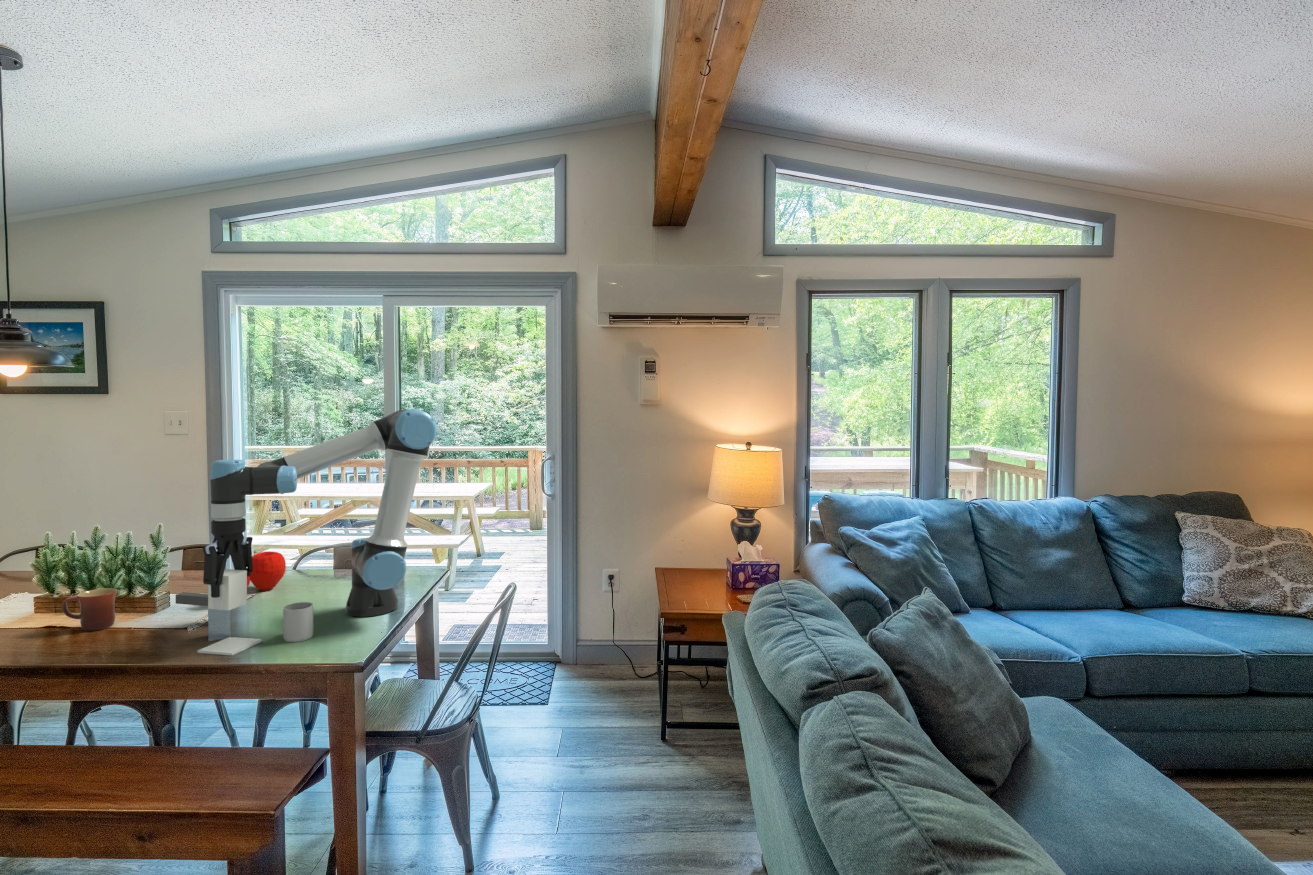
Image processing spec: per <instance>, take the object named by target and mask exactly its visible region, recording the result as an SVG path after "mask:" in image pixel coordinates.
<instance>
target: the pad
mask: <svg viewBox="0 0 1313 875" xmlns="http://www.w3.org/2000/svg"><path fill="white" fill-rule="evenodd" d="M262 642H263V639H262V638H249V637H237V636H236V637H235V636H233V637H232V636H231V637H228V638H226V639H221V640H218V641H217V642H213V643H212V644H209V645H207V646H205V647H203V648H200V649H198V650H197V654H208V655H220V656H221V655H223V656H235V655H237V654H238V653H240V652H243V651H244V650H247V649H249V648H251V647H253V646H255V645H258V644H259V643H262Z"/></svg>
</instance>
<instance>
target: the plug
mask: <svg viewBox="0 0 1313 875" xmlns="http://www.w3.org/2000/svg"><path fill="white" fill-rule="evenodd" d="M216 580H217V579H216ZM221 584H224V609H223V610H230V611H231V610H234V609H236V608H238V607H242V606H244V605H247V604H248V588H247V570H235V569H234V568H233V569H231V568H230V569H228V568H227V569H226V568H225V570H224V574H223V578H222V582H221ZM176 604H177V605H188V606H201V607H202V606H203V607H207V610H208V609H213V598H212V597H211V585H208V584H207V593H199V592H187V591H186V592H185V591H183V592H180V593H177V594H175V605H176ZM217 610H218V609H217Z"/></svg>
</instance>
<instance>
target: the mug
mask: <svg viewBox="0 0 1313 875" xmlns="http://www.w3.org/2000/svg"><path fill="white" fill-rule="evenodd" d="M118 592H119V591H118V589H117V588H113V587H112V588H111V587H109V588H108V587H105V588H99V589H98V588H97V589H90V590H87V591H82V592H79V593H78V594H76V596H69V597H67V598H65V599H64V600H63V601H62V605H61V608H62V611H63V614H65V616H66V617H68V618H70V619H74V620H80V621H79V622H80V627H81V629H82V631H83V630H84V631H86V632H94V631H95V632H97V631H101V630H105V629H109V628H111V627H112V626H114V624H115V620H116V606H115V600H116V596H117V593H118ZM69 601H74V602H77V603H79V606H80V613H79V614H77V613H76V614H74V613H72V612H70V611H69V608H68V602H69Z"/></svg>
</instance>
